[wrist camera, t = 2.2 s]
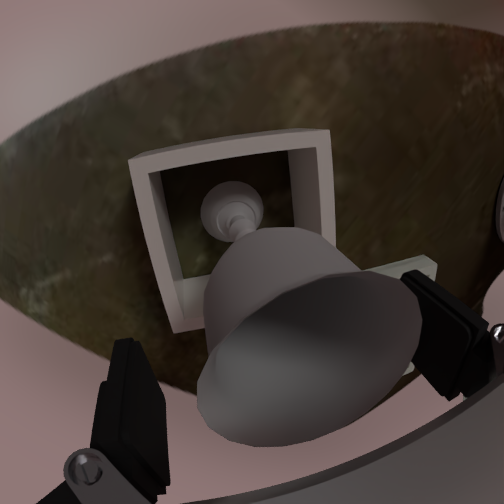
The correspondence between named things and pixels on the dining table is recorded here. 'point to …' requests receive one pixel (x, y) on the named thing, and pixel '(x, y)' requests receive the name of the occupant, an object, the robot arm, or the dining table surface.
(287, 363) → the chalice
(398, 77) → the dining table surface
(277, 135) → the sleeve
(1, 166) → the dining table surface
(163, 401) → the robot arm
